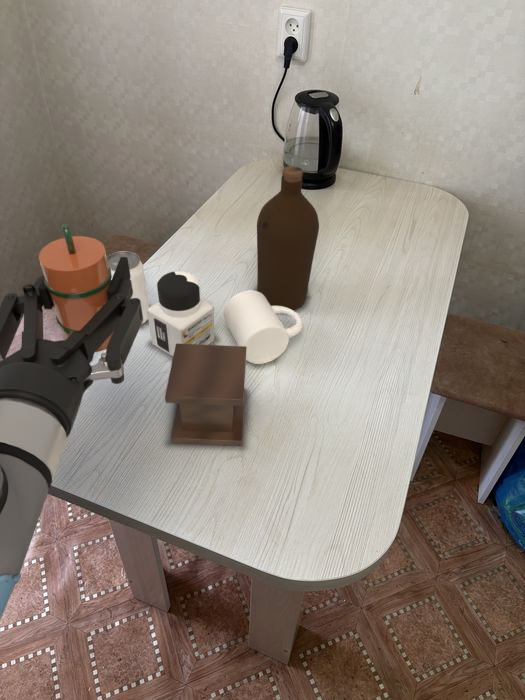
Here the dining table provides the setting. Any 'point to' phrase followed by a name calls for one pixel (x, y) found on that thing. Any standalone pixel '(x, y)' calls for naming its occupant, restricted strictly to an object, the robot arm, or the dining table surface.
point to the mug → (259, 326)
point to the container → (180, 313)
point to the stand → (207, 394)
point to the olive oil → (286, 243)
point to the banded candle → (76, 280)
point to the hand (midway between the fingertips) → (94, 265)
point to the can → (133, 277)
